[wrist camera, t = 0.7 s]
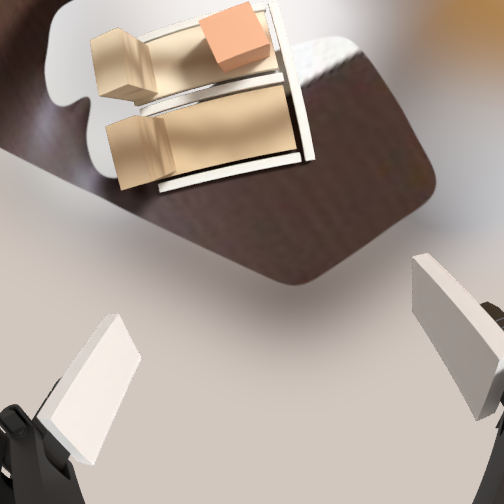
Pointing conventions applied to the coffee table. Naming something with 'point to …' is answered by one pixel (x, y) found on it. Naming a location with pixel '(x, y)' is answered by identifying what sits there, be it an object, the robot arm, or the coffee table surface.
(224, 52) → the cube
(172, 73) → the wooden slider
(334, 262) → the coffee table surface
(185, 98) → the lane rails
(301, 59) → the coffee table surface
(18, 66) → the coffee table surface
